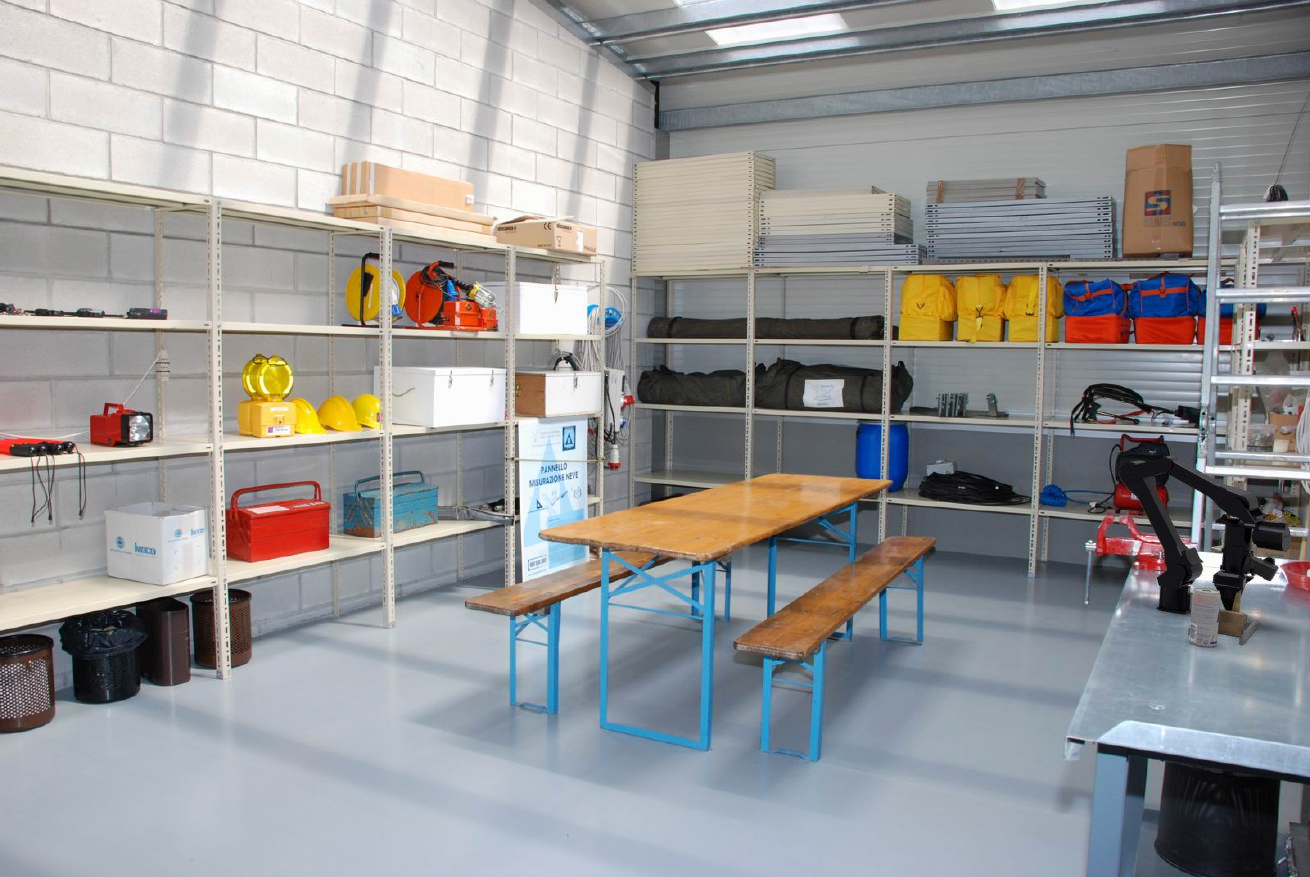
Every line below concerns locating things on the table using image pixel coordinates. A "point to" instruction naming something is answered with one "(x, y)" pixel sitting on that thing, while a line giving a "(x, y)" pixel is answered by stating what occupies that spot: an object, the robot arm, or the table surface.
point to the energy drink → (1204, 617)
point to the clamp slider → (1232, 619)
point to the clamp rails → (1246, 633)
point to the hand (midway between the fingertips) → (1232, 608)
